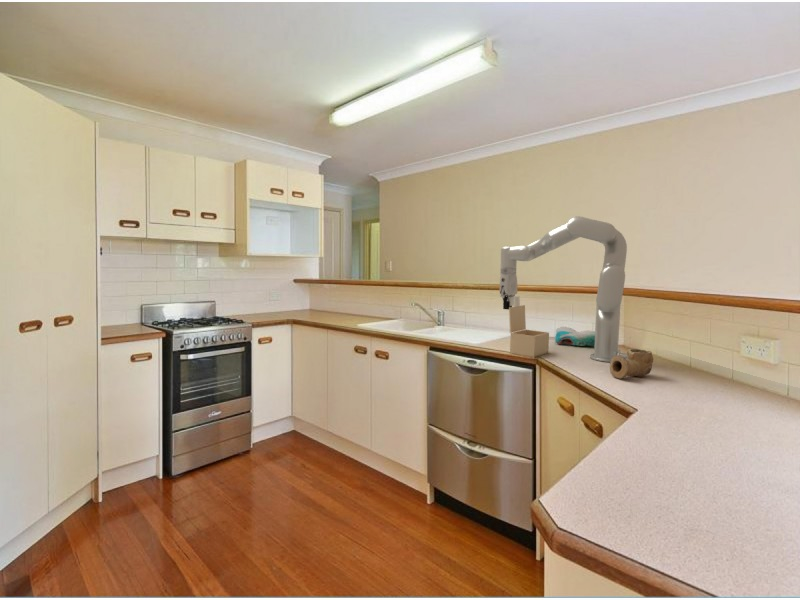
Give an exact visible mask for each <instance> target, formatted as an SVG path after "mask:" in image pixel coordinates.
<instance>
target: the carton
mask: <svg viewBox="0 0 800 600" xmlns="http://www.w3.org/2000/svg"><path fill="white" fill-rule="evenodd" d="M549 343H550V332H548V331H538V330H531V329H525V330H520V331H516V332H512V333H510V346H509V354H510V353H513V354H512V355H516V354H518V355H517V356H521V355H522V357H528V358H537V357H539V356H543V355H545V354H546V355H547V354H549V348H550V347H549Z"/></svg>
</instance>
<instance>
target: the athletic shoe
mask: <svg viewBox="0 0 800 600" xmlns="http://www.w3.org/2000/svg"><path fill="white" fill-rule="evenodd" d="M554 342H555V344H558V345H563V344H564V345H567V346H568V345H569V346H577V347H586V346H587V347H591V348H594V344H595V330H583V331H578V330H575V329H574V328H572V327H567V326H559V327H557V328H556V329H555V337H554Z"/></svg>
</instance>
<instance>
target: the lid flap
mask: <svg viewBox="0 0 800 600" xmlns="http://www.w3.org/2000/svg"><path fill="white" fill-rule="evenodd" d="M520 299H521V298H520V296H519V295H518V296H514V297H509V301H510V306H512V307H509V309H508V316H509V317H508V319H509V320H508V321H509V333H510V334H511V333H513V332H518V331H522V330H527V328H526V323H527V322H526V305H524V304H523V305H521V302H520V301H521V300H520Z"/></svg>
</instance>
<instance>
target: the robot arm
mask: <svg viewBox="0 0 800 600" xmlns="http://www.w3.org/2000/svg"><path fill="white" fill-rule="evenodd" d="M579 238H583V239H586V240H589V241H594V242H598V243H600V244H602V245H603V247H604V255H603V263H602V269H601V271H600V273H599V278H598V287H597V293H596V298H595V299H596V300H595V303H596V309H595V311H596V312H595V328H594V331H595V344H594V347H593V353H592V354H590V356H589V358H590V359H591V360H593V361H599V362H605V363H610V362H611V360H612V358H613V357H615V356H622V357H624V358H625V359H628V355H627V353H624V352H623V353H622V352H621V350H620V349H619V337H620V324H621V323H620V320H621V304H622V299H623V294H624V287H625V282H626V272H625V268H626V262H627V261H626V260H627V253H628V252H627V251H628V246H627V245H628V244H627V241H626V238H625V236H624V235H623V234H622V232H620V231H619V230H618V229H617V228H616V227H615V226H614V225H613V224H612V223H609V222H605V221H601V220H597V219H592V218H588V217H584V216H580V215H579V216H578V215H577V216H573V217H572V218H570V219H569V220H568V221H567V222H565V223H563V224H562V225H560V226H558V227H556V228H553V229H550V230H549V231H548V232H547V233H545V235H543V236H542V237H541V238H540V239H538V240H536V241H534V242H532V243H530V244H528V245H524V244H523V245H516V246H515V245H514V246H511V245H510V246H508V245H507V246H505V245H504V246H502V247H501V248H500V273H499V274H500V279H499V295H500V298H502V303H503V304H502V306H503V307H502V309H503V310H509V307H513V306H510V301H509V297H516V295H517V294H518V278H517V277H518V275H517V262H518V261H519V262H530V261H533V260H536V259H537V258H540V257H541V256H544V255H546V254H547V253H549V252H551V251H553V250H556V249H558V248H560V247H562V246H564V245H566V244H568V243H570V242H572V241H575V240H577V239H579Z"/></svg>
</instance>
